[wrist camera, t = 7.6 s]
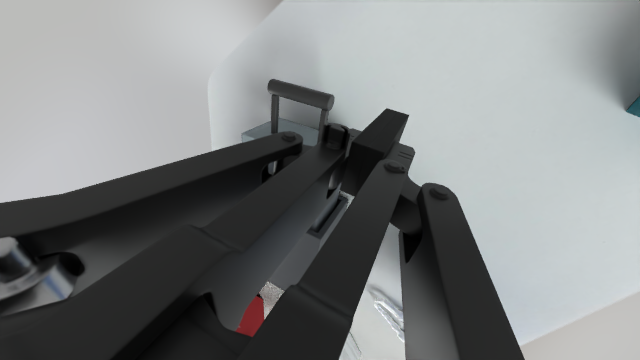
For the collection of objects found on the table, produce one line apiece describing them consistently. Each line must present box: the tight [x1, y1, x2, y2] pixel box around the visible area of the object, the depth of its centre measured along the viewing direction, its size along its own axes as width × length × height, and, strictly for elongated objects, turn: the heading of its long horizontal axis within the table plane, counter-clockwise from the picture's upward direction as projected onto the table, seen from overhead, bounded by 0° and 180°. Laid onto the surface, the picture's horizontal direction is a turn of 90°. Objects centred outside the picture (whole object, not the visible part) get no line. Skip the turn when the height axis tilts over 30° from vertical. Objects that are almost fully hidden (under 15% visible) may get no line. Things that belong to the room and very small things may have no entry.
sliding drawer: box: [242, 79, 341, 233], centre depth 30 cm, size 19×11×7 cm, turn 172°
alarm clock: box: [236, 296, 264, 337], centre depth 56 cm, size 15×9×20 cm, turn 14°
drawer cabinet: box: [268, 195, 348, 291], centre depth 37 cm, size 15×13×9 cm
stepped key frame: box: [374, 298, 405, 343], centre depth 40 cm, size 13×5×2 cm, turn 60°
